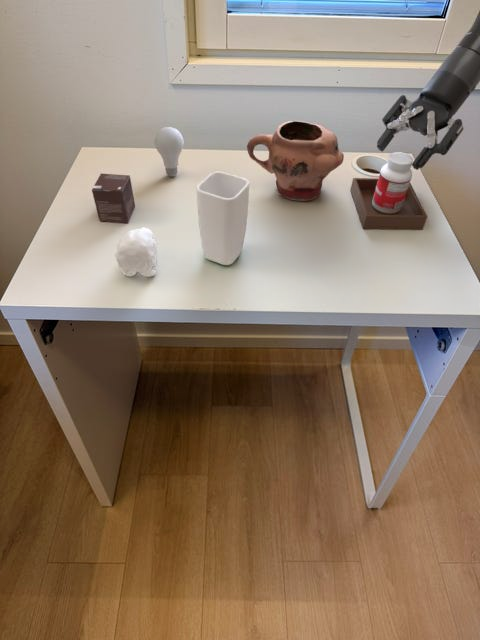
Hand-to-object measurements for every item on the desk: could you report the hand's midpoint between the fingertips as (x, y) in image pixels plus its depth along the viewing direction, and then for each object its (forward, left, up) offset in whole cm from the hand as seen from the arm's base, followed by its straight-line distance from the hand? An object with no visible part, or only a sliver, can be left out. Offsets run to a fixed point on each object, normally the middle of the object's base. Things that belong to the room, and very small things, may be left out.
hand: (396, 158), depth 89 cm
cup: (+20, +31, -12) cm, 38 cm away
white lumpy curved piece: (+31, +41, -12) cm, 52 cm away
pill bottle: (-1, -1, -12) cm, 12 cm away
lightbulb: (+45, +14, -12) cm, 48 cm away
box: (+45, +32, -12) cm, 56 cm away
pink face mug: (+20, +4, -12) cm, 23 cm away
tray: (0, -1, -12) cm, 12 cm away
